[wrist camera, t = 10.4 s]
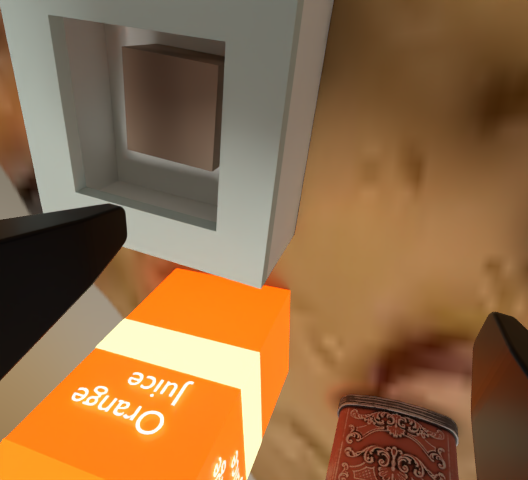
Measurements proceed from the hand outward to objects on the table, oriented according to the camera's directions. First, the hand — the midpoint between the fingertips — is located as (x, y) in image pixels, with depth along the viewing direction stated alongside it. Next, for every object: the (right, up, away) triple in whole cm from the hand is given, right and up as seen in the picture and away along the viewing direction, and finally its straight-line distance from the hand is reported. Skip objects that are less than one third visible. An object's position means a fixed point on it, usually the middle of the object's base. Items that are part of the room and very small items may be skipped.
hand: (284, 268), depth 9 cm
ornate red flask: (+9, -12, +19) cm, 24 cm away
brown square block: (-4, +8, +12) cm, 15 cm away
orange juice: (-3, -5, +20) cm, 21 cm away
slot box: (-4, +8, +13) cm, 16 cm away
